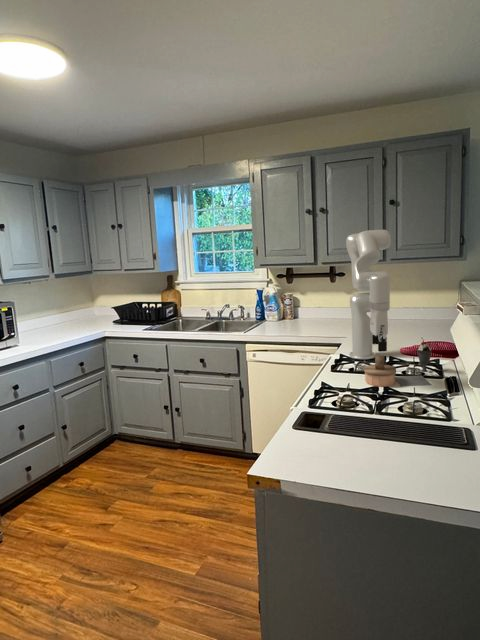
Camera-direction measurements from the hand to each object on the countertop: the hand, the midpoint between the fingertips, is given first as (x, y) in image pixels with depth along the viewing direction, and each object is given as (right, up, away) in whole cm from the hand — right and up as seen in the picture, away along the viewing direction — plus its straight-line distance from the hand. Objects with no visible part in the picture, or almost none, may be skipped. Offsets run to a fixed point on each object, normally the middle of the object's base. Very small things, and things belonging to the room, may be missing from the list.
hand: (379, 347), depth 178 cm
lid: (0, -10, +1) cm, 10 cm away
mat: (+13, -14, +1) cm, 19 cm away
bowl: (+1, -15, +2) cm, 15 cm away
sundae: (+23, -12, +12) cm, 28 cm away
